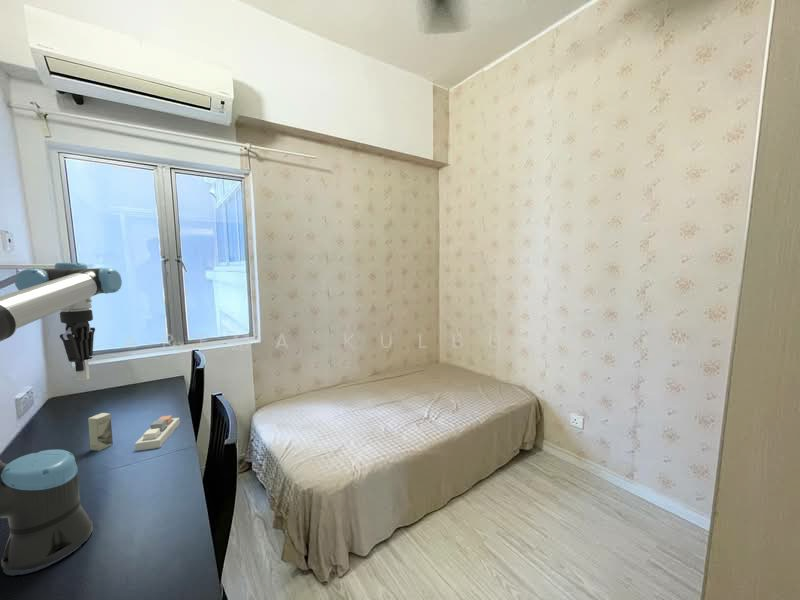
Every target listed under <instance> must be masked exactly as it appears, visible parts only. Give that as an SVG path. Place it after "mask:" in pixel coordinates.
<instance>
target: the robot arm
mask: <svg viewBox="0 0 800 600" xmlns="http://www.w3.org/2000/svg"><path fill="white" fill-rule="evenodd" d="M122 280H123V279H122V277H121V274H120V273H119V272H118V271H117V270H116V269H114V268H103V267H100V268H88V265H87V264H86V263H83V262H56V263H55V264H54V268H39V267H38V268H27V269H23V270H21V271H19V272H18V273H17V274H16V275H15V277H14V285H15V287H16V288H17V291H13V292H11V293H7V294H3V295H0V342H2V341H4V340H6V339H9V338H11V337H12V336H13V335H15V333H16V331H17V329H19V328H22V327H24V326H27V325H29V324H31V323H33V322H35V321H38V320H40V319H43V318H45V317H47V316H49V315H52V314H54V313H56V312H59V311H60V312H59V318H60V323H62V324H65V332H64V333H61V334H60V335H59V338H60V339H61V340H62V343H63V347H64V349H65V353H66V355H67V356H66V357H67V360H68V361H69V362H70V363H74V365H75V374H76V376H75V377H76V381H88V380H89V379H91V377H90V376H91V375H90V367H89V360H92V359H93V351H94V337H95V332H96V328H95V327H92V326H91V325H90V322H92V321H93V320H94V315H93V310H92V309H91V308H92V301H93V300H92V299H91V298H92V297H94V296H96V295H99V294H114V293H117V292H118V291H119V290H120V289H121V287H122V284H123V281H122ZM78 472H79V469H78V466H77V463H76V458H75V456H74V454H73V453H71V452H70V451H68V450H65V449H46V450H40V451H39V452H31V453H28V454H25V455H22V456H20V457H17V458H15V459H14V460H11V461H9V462H8V463H4V462H3V461H2V460H1V459H0V519H7V520H8V522H7V523H8V526H9V536H8V539H7V542H6V544H5V548H4V551H3V554H2V556H1V568H2V567H3V568H5V569H8V570H26V569H32V568H36V567H38V566H41V565H45V564H47V563H50V562H52V561H54V560H57V559H59V558H61V557H62V556H64V555H66V554H68V553H69V552H70V551H73V550H74V549H76V548H77V547H79V546H80V545H82V544H83V543H84V542H85V541H86V540H87V539H88V538H89V536H90V535H91V533H92V534H93V532H94V527H93V521H92V519H91V518H90V516H89V515H88V514H87V512H86V511H85V510H84V509H85V508H83V506H82V505H81V497H80V496H81V495H80V487H79V476H78ZM92 531H93V532H92ZM91 536H92V535H91ZM89 539H90V538H89ZM89 539H88V540H89Z"/></svg>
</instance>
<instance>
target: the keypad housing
mask: <svg viewBox="0 0 800 600" xmlns="http://www.w3.org/2000/svg"><path fill="white" fill-rule="evenodd" d="M180 423H181V421H180V417H172V422H171V424H170V425H167V427H166V428H165V429H164V430H163V431H160V436H159V437H158V438H157V439H152V440H145V441H144V438H143V435H142V436H141V437H140V438H139V439H137V441H136V442H135V443H134V448H135V452H139V451H144V450H151V449H158V448H161V447H162V446H163V445H164V444H165V442H167V440H168V439H169V438H170V436H171V435H172V434H173V433H174V432H175V430H176V429H177V428H178V427H179V426H180ZM149 429H151V427H150V428H149Z"/></svg>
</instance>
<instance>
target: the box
mask: <svg viewBox="0 0 800 600" xmlns="http://www.w3.org/2000/svg"><path fill="white" fill-rule="evenodd" d="M87 422H88V434H89V447H90V450H91V451H95V452H96V451H97V452H100V451H103V450H104V449H107V448H108V447H110V446H113V445H114V442H113V431H112V429H113V428H112V416H111V413H107V412H100V413H98V414H95V415H93V416H90V417H88V419H87Z"/></svg>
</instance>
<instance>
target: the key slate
mask: <svg viewBox="0 0 800 600" xmlns="http://www.w3.org/2000/svg"><path fill="white" fill-rule="evenodd" d="M166 427H167V425H166V419H164V420H158V419H156V420H154V421H153V422H152V423H151V424H150V428H151V429H157V428H160V431H163V430H164V429H165V428H166Z"/></svg>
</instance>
